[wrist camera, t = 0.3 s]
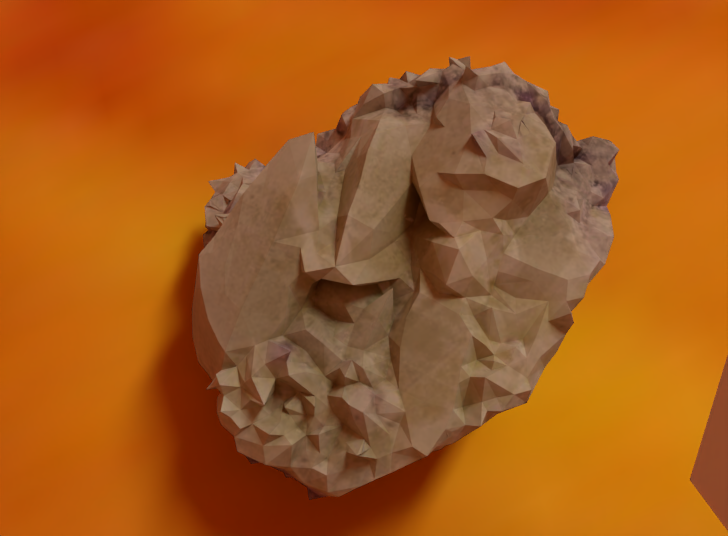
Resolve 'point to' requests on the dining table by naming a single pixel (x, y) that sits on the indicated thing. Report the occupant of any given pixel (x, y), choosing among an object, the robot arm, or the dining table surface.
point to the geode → (398, 273)
